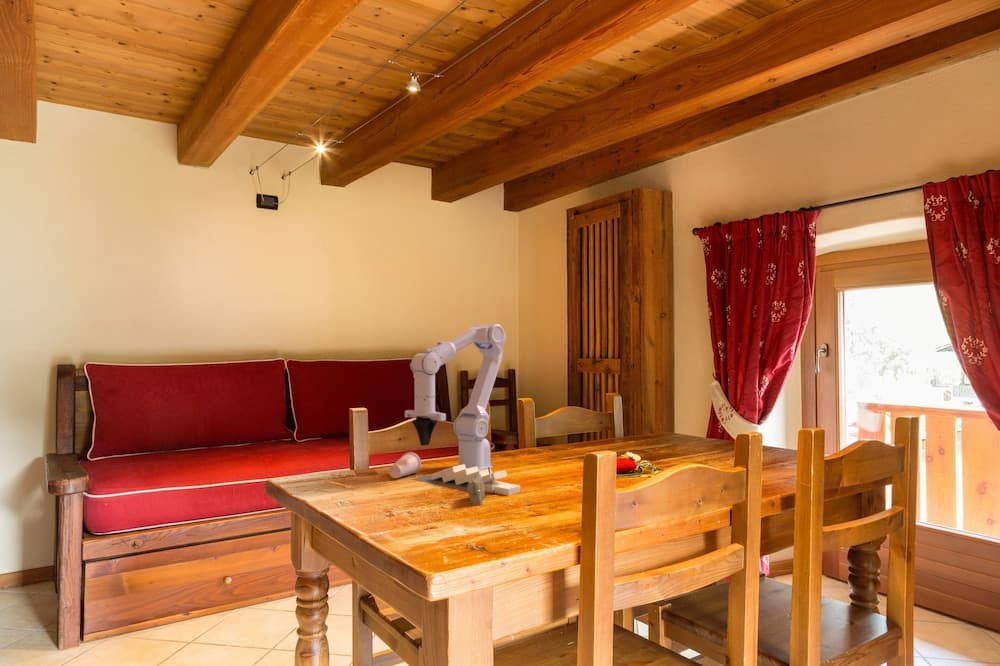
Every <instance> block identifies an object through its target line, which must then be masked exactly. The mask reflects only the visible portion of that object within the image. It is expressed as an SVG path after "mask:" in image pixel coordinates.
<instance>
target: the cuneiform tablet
mask: <svg viewBox="0 0 1000 666" xmlns="http://www.w3.org/2000/svg"><path fill="white" fill-rule="evenodd" d="M487 469H488V470H489V475H490V480H491V485H492V490H493V492H492V494H493V496H494V495H495V494H496V493H494V488H493V483H492V478H491V473H490V468H487ZM467 494H468V497H469V500H470V503H471V505H472V506H481V504H483V500H484V499H485V496H486V493H485V489H484V484H483V481H482V477H481V475H480V474H477V475H474V477H473V478H472V479H471V480H470V482H469V484H468V491H467Z"/></svg>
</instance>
